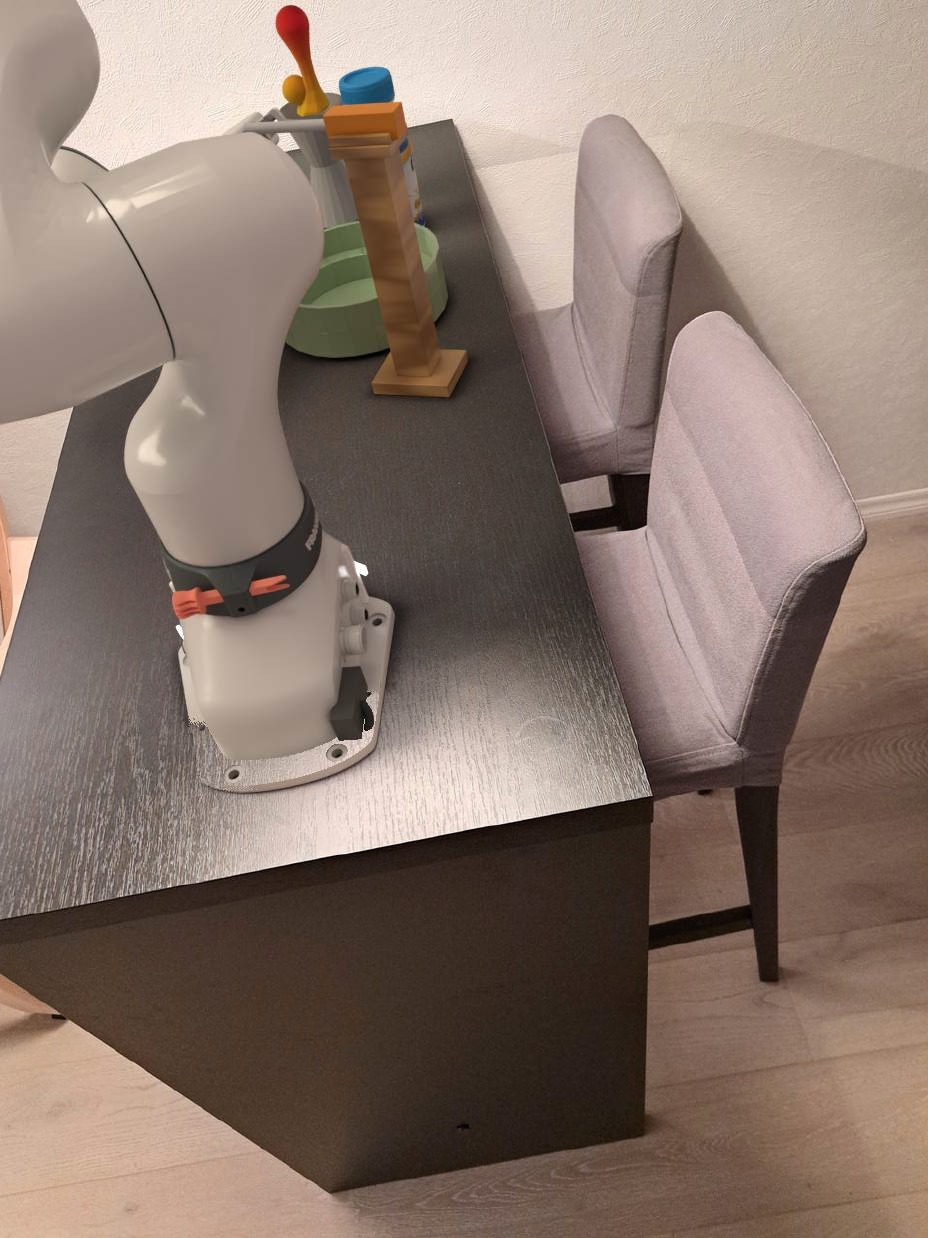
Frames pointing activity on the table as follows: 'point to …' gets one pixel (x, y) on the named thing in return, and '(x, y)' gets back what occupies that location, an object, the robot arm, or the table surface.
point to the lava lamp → (313, 104)
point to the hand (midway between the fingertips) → (258, 135)
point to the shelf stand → (396, 268)
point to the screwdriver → (343, 121)
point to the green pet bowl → (354, 296)
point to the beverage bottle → (379, 89)
